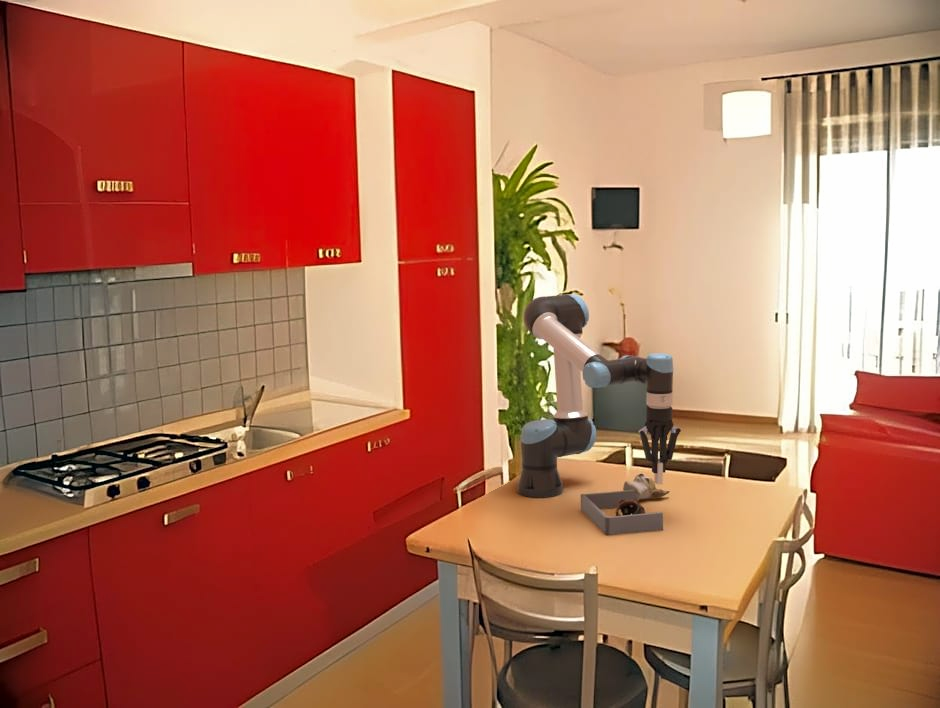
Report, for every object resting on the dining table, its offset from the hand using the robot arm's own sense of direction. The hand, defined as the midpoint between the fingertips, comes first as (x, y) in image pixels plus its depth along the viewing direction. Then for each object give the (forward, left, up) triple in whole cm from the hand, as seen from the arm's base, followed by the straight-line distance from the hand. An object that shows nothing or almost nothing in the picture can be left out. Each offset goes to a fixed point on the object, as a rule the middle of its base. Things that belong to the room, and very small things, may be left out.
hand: (658, 483), depth 261 cm
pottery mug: (+5, -11, -10) cm, 16 cm away
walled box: (+1, -12, -10) cm, 15 cm away
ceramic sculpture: (-17, +1, -10) cm, 20 cm away
